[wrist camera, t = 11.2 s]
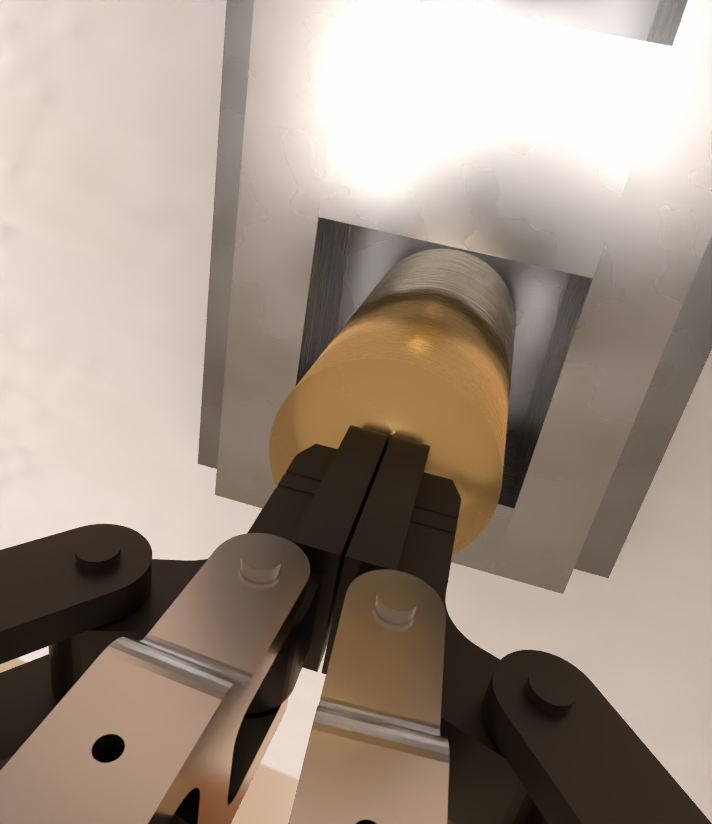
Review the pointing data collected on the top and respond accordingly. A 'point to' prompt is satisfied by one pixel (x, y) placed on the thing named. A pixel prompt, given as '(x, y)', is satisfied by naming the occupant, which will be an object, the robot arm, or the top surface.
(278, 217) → the jig
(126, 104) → the top surface
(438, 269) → the gold and grey cylinder
